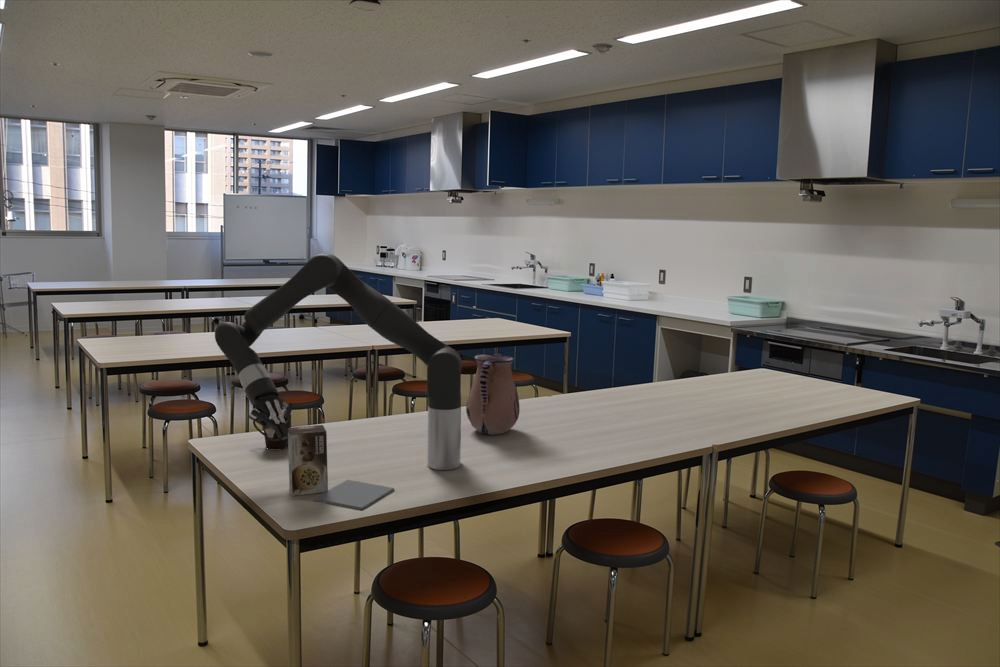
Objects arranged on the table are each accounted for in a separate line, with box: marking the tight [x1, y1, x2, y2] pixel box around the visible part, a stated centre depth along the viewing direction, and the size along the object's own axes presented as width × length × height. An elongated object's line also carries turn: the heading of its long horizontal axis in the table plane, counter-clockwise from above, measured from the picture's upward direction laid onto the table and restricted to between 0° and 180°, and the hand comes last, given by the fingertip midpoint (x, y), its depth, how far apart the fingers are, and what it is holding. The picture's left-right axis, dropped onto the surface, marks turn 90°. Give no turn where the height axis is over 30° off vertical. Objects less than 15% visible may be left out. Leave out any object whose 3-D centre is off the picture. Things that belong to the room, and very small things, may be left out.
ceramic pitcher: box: [465, 353, 521, 436], centre depth 253 cm, size 18×21×25 cm
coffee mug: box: [252, 410, 292, 450], centre depth 234 cm, size 12×9×10 cm
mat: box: [312, 479, 395, 510], centre depth 195 cm, size 15×14×1 cm
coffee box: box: [287, 424, 329, 497], centre depth 197 cm, size 9×6×16 cm
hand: (285, 437), depth 203 cm, fingers closed
